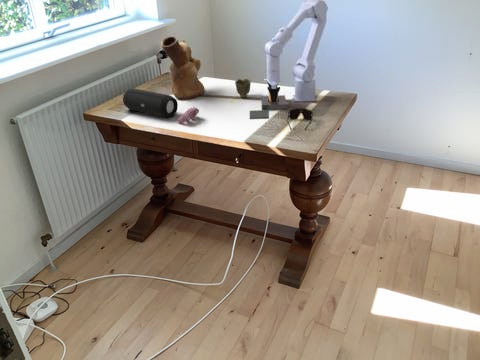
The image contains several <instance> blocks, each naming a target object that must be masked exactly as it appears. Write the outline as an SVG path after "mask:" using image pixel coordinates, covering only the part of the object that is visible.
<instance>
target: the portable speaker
mask: <svg viewBox="0 0 480 360" xmlns="http://www.w3.org/2000/svg"><path fill="white" fill-rule="evenodd" d="M122 102H123V103H122V104H123V105H124V106H125V107H126V108H127V109H128V110H131V111H134V112H140V113H144V114H148V115H149V114H150V115H154V116H158V117H163V118H170V117H173V116H175V114H176V113H177V111H178V106H179V105H178V100H177V99H176V98H175V97H173V96H172V95H170V94H166V93H165V94H164V93H159V92H154V91H148V90H144V89H143V90H142V89H138V88H130V89H127V90H126V91H124V93H123V96H122Z"/></svg>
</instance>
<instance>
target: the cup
mask: <svg viewBox="0 0 480 360" xmlns="http://www.w3.org/2000/svg"><path fill="white" fill-rule="evenodd" d="M234 83H235V90H236V92H237V94H239V97H240V98H241V99H245V98H247V97H248V94H249V93H250V91H251V83H252V82H251V80H250V79H248V78H244V79H243V80H242V78H241V79H240V78H238V79H237V80H235V81H234Z"/></svg>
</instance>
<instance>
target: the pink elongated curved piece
mask: <svg viewBox="0 0 480 360" xmlns="http://www.w3.org/2000/svg"><path fill="white" fill-rule="evenodd" d="M199 112H200V109H198V108H197V107H195V106H193V107H190V108H188V109H187V110H186V111H185V112H183V114H182V115H181V116H180V117H179V118H178V119H177V123H178V124H184V123H185V122H186V123H190V121H191V120H192V121H193V120H194V119H195V118H196V117H197V115H198V114H199Z"/></svg>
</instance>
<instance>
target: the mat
mask: <svg viewBox="0 0 480 360" xmlns="http://www.w3.org/2000/svg"><path fill="white" fill-rule="evenodd" d="M268 114H269V110H262V109H259V110H258V109H257V110H249V120H257V119H258V120H259V119H269V115H268Z"/></svg>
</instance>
